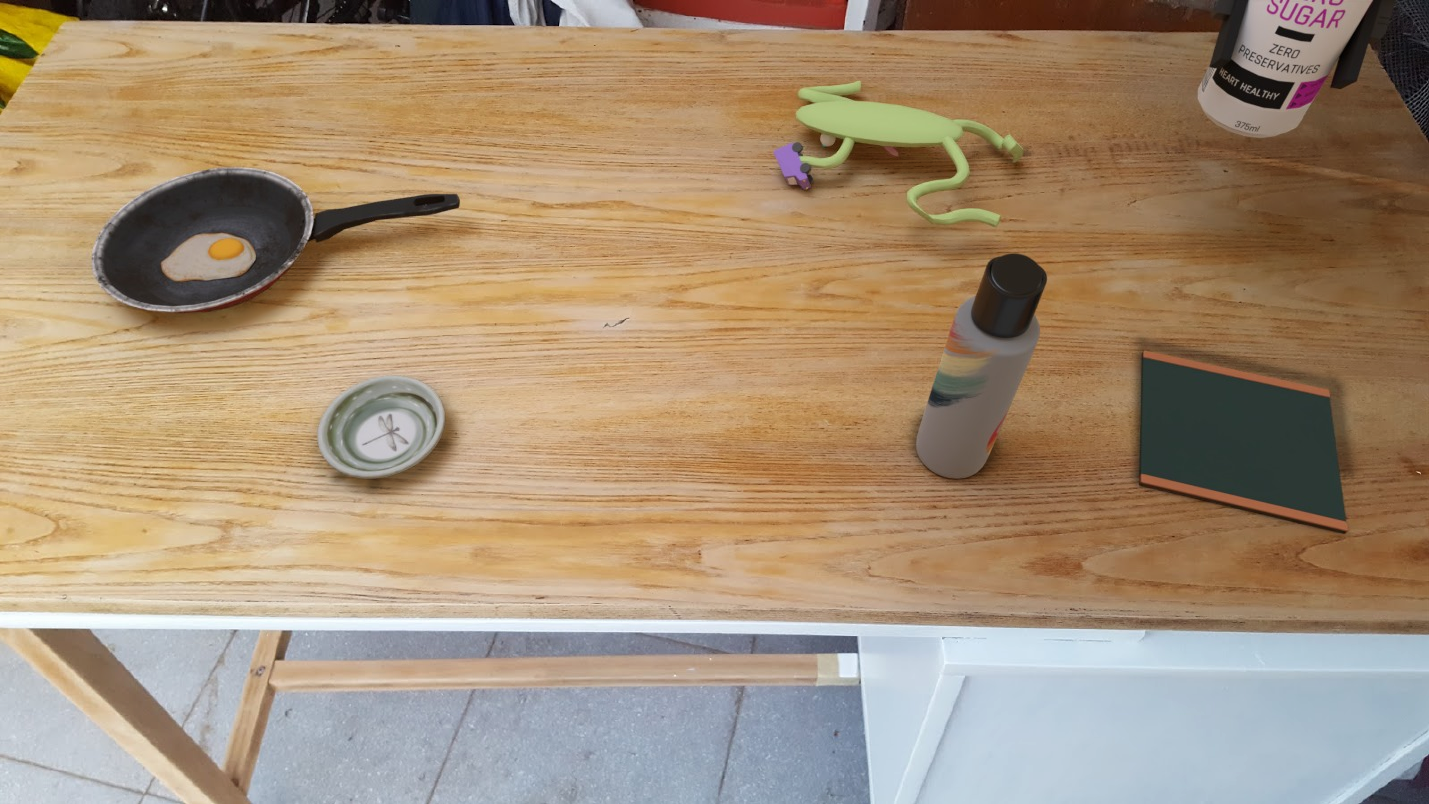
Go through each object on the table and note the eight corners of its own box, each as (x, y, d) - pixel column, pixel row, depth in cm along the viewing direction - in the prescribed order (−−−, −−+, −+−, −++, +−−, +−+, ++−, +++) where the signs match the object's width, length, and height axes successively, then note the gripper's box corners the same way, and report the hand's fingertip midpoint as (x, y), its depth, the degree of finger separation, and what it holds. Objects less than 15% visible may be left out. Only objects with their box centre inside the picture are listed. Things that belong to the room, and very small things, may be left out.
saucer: (302, 439, 75) (292, 421, 73) (406, 374, 79) (399, 355, 77) (369, 515, 71) (359, 498, 69) (475, 442, 75) (469, 424, 73)
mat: (1326, 393, 79) (1329, 389, 79) (1344, 533, 71) (1348, 530, 71) (1141, 353, 82) (1143, 349, 81) (1138, 485, 73) (1141, 481, 73)
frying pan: (126, 205, 92) (107, 174, 89) (462, 165, 96) (454, 134, 93) (90, 350, 80) (67, 320, 77) (472, 297, 85) (463, 267, 82)
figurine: (970, 278, 87) (984, 232, 83) (729, 169, 96) (731, 123, 92) (1048, 172, 96) (1065, 126, 92) (822, 82, 105) (827, 36, 101)
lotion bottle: (990, 430, 76) (1066, 248, 61) (982, 488, 73) (1061, 310, 57) (919, 415, 77) (977, 231, 61) (909, 471, 74) (967, 291, 58)
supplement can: (1274, 81, 81) (1373, -99, 69) (1314, 142, 76) (1427, -41, 64) (1180, 82, 81) (1263, -99, 69) (1213, 143, 76) (1309, -41, 64)
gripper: (1502, -201, 70) (1404, 109, 74) (1207, -235, 74) (1127, 62, 77) (1571, -259, 63) (1459, 88, 66) (1240, -294, 67) (1150, 37, 70)
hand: (1280, 73), depth 72 cm, fingers closed on supplement can, 8 cm apart
